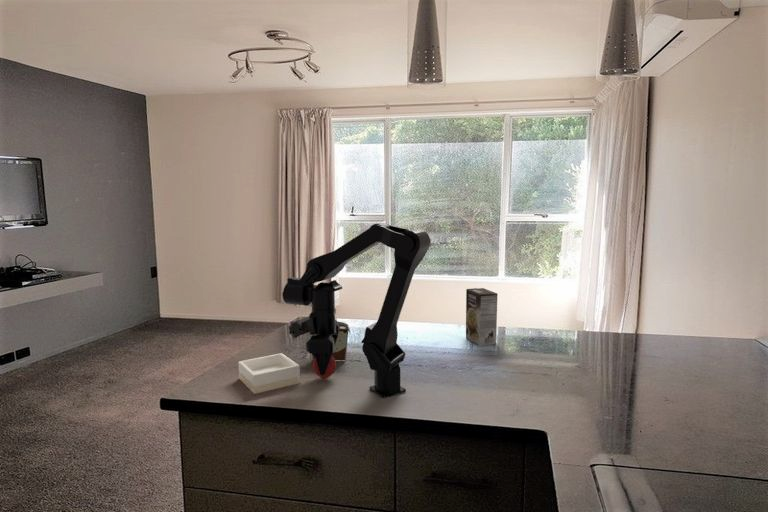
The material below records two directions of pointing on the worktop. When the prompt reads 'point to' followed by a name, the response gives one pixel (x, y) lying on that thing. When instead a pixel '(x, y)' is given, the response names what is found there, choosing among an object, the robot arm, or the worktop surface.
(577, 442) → the worktop surface
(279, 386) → the open white tray
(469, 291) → the coffee box
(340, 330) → the food container
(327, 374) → the onion
